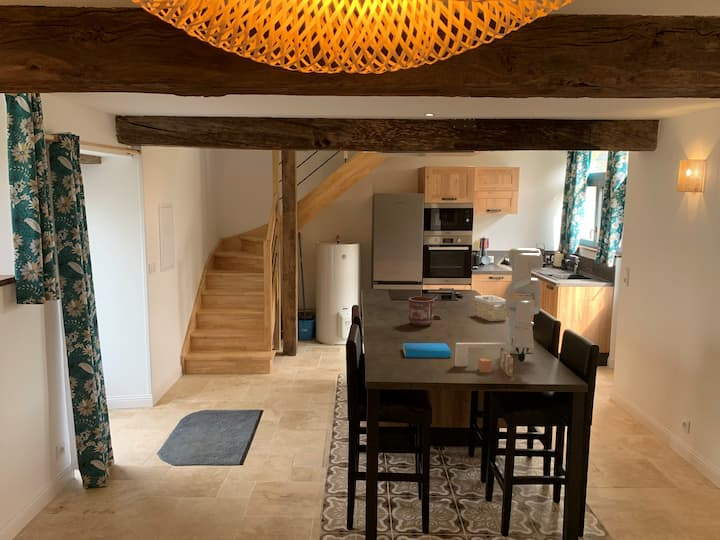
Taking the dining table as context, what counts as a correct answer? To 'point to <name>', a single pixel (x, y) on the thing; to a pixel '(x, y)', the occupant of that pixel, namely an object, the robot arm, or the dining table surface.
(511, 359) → the beige wavy panel
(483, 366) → the salmon pink cube
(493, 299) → the storage basket
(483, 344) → the wall frame
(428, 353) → the book
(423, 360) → the dining table surface
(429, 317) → the pottery
